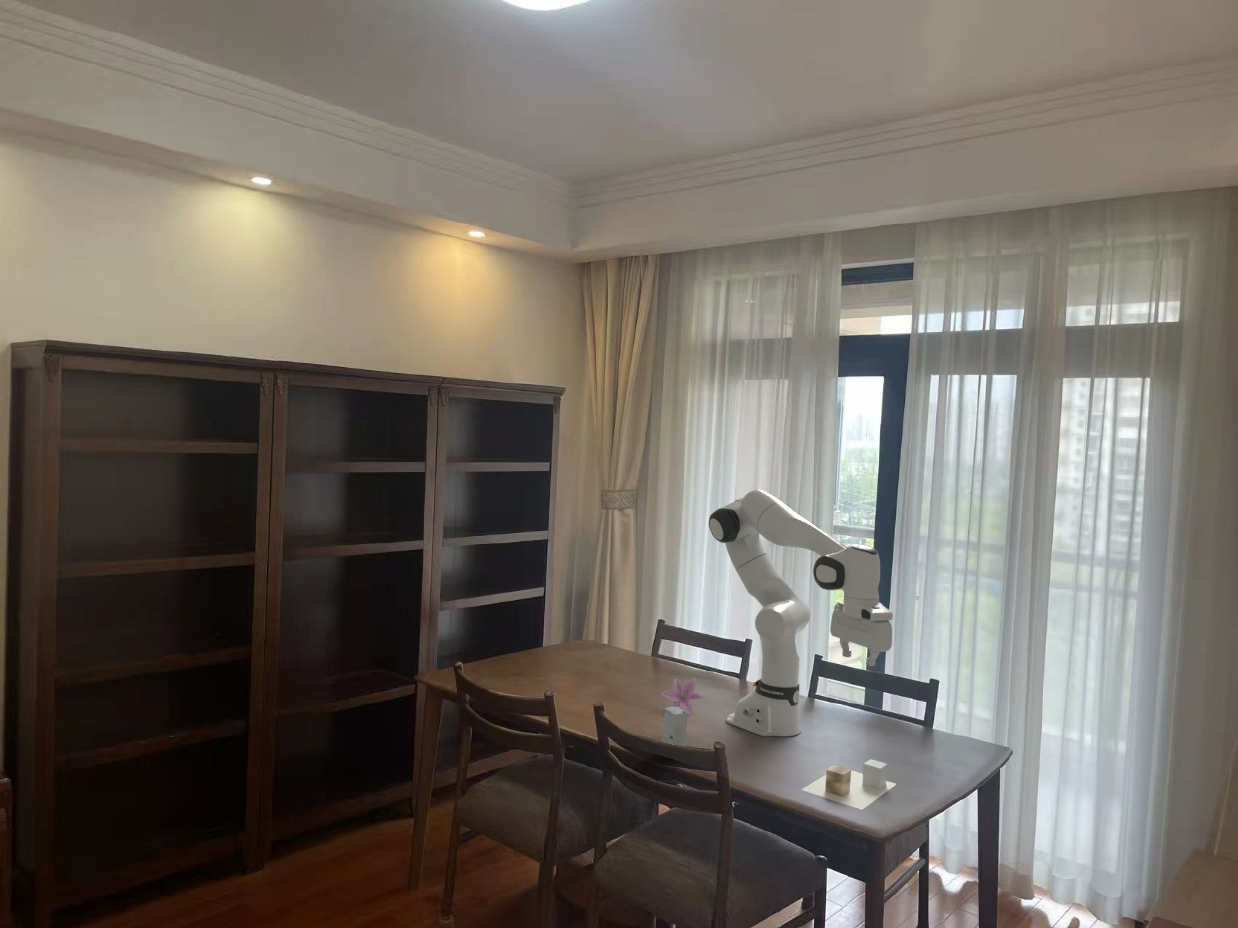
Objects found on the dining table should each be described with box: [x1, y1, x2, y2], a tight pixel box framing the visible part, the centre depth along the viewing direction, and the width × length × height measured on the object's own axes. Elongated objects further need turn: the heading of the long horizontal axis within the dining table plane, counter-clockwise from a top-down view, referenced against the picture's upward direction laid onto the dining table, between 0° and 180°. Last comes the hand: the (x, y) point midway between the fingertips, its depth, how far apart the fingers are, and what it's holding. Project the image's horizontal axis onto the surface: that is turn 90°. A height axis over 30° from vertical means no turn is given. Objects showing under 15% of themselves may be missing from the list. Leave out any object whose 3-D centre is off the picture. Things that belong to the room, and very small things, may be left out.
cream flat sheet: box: [801, 769, 897, 811], centre depth 223 cm, size 16×22×1 cm
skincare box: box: [661, 706, 689, 747], centre depth 240 cm, size 6×4×12 cm
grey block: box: [862, 758, 888, 790], centre depth 225 cm, size 4×4×6 cm
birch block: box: [825, 764, 852, 797], centre depth 220 cm, size 4×4×6 cm
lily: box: [660, 677, 704, 716], centre depth 279 cm, size 12×12×10 cm
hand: (858, 660), depth 227 cm, fingers open, 8 cm apart
